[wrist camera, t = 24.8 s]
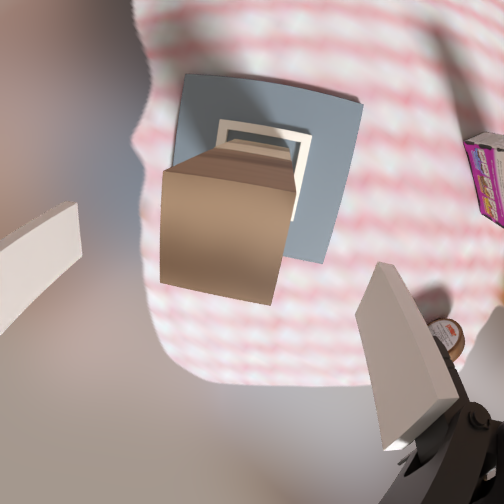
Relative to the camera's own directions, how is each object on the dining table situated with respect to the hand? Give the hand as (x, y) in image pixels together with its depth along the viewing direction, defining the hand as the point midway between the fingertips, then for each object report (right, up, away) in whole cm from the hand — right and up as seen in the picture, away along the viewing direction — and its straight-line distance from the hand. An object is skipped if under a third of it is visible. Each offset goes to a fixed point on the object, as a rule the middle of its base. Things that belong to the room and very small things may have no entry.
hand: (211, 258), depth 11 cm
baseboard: (+2, +10, +21) cm, 23 cm away
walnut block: (+1, +5, +11) cm, 12 cm away
